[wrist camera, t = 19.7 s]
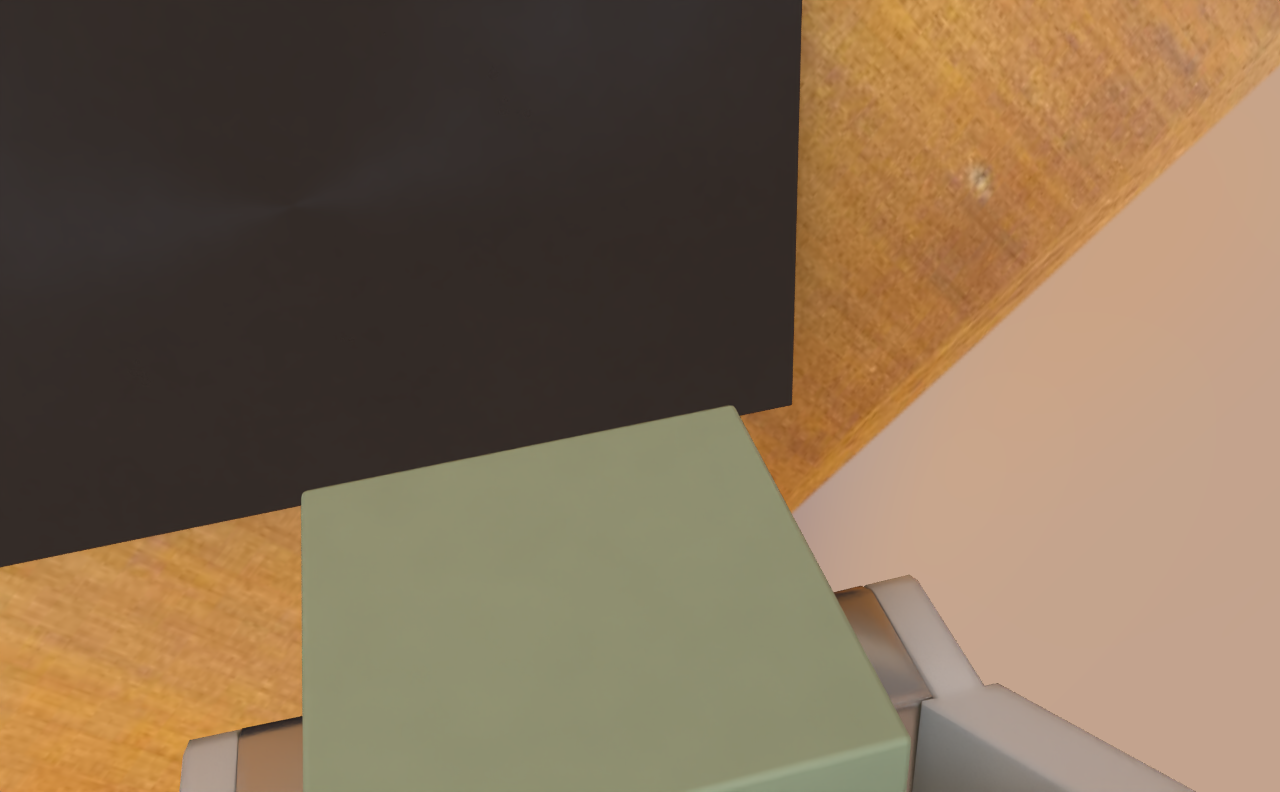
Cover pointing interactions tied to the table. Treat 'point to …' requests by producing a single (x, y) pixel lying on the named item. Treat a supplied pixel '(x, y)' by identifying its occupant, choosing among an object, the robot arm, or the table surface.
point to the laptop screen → (374, 241)
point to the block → (583, 627)
